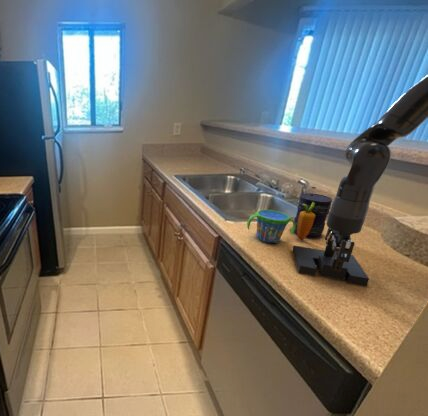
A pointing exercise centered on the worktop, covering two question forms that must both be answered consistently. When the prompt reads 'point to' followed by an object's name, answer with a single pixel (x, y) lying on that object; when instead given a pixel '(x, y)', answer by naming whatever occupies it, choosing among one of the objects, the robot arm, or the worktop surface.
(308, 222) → the carrot
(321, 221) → the dark blue oil drum
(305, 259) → the base pad
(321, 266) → the small block
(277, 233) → the snack cup
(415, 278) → the worktop surface
